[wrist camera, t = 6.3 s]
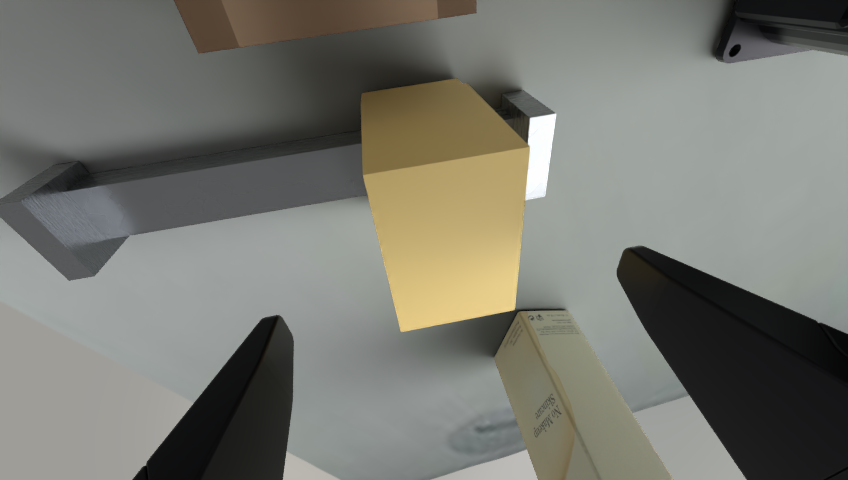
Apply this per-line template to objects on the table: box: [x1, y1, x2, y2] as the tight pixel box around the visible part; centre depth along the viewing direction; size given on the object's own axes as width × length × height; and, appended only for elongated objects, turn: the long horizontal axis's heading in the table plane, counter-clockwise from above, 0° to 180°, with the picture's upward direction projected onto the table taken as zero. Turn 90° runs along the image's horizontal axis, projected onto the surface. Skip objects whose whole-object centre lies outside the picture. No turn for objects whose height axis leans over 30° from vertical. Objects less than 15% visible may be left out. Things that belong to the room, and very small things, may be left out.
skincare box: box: [494, 310, 674, 480], centre depth 22 cm, size 6×4×12 cm
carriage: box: [361, 78, 530, 332], centre depth 13 cm, size 4×6×8 cm, turn 6°
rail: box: [0, 90, 556, 281], centre depth 15 cm, size 20×4×3 cm, turn 96°
